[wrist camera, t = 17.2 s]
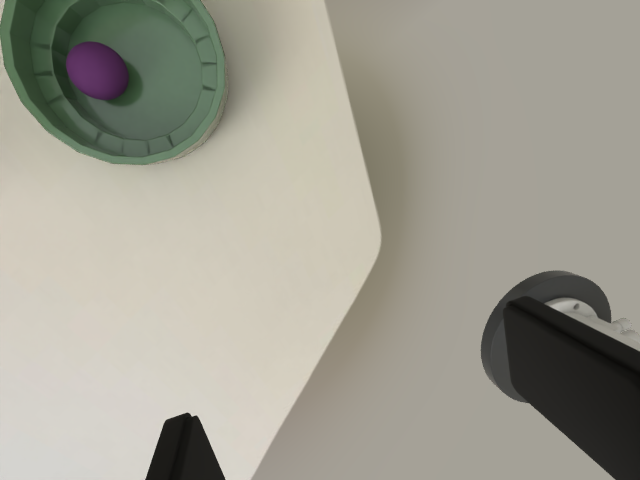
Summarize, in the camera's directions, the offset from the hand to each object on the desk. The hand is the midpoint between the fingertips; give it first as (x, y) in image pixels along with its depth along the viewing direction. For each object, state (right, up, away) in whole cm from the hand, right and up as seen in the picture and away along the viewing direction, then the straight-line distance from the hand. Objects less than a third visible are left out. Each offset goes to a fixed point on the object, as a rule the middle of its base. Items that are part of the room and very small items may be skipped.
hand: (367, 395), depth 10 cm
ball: (-18, +17, +16) cm, 30 cm away
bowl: (-16, +18, +19) cm, 31 cm away
